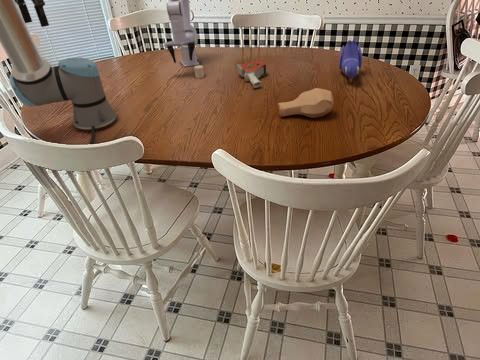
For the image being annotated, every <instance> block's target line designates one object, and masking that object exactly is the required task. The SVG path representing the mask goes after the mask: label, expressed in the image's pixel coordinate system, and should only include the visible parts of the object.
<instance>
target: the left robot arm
mask: <svg viewBox="0 0 480 360" xmlns="http://www.w3.org/2000/svg"><path fill="white" fill-rule="evenodd" d="M30 1H31V2H32V4H33V5H34V6H33V8H34V11H35V13H36V16H37V18H38V22H39V23H40V26H41V27H42V28H44V27H49V26H50V24H49V20H48V17H47V14H46V12H45V9H44V6H46V2H45V0H30ZM29 23H33V19H32V16H31V14H30V11H29V8H28V6H27V2H26V1H25V0H0V45H1V47H2V49H3V50H4V53H5V54H6V56H7V58H8V60H9V61H10V63H11V65H12V67H11V70H10V75H9V83H10V86H11V88H12V90H13V92H14V94H15V96H16V98H17V99H18V101H20V102H21V104H23V105H24V106H26V107H40V106H44V105H50V104H56V103H61V102H62V103H63V102H67V101H71V104H72V108H73V114H72V117H73V118H72V119H73V125H74V128H75V129H76V131H78V132H84V133H91V136H90V142H89V144H90V145H91V144H92V145H94V142H95V133H96V132H99V131H102V130H105V129H107V128H110V127H111V126H113V125H115V124H116V122H117V121H118V116H117V113H116V111H115V110H114V108H113V107H112V105H111V103H110V102H109V101H108V99H107V96H106V92H105V90H104V87H103V86H104V85H103V83H102V80H101V77H100V76H101V73H100V72H99V70H98V66H97V64H96V63H95V62H94V61H93V60H92V59H89V58H87V57H67V58H64V59H61V60H59V61H58V63H57V65H55V66H51V63H50V61H48V60H47V59H45V58H43V57H42V56H41V54H40V52H39V50H38V47H37V45H36V43H35V41H34V38H33V36H32V34H31V32H30V30H29V28H28V26H27V24H29Z"/></svg>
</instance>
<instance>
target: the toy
mask: <svg viewBox="0 0 480 360" xmlns="http://www.w3.org/2000/svg"><path fill="white" fill-rule="evenodd" d="M358 42H359V40H357V39H353V40H351V39H348V40H347V41H346V45H343V44H342V47H341V49H340V52H339V55H338V69H339V70H340V71H341V72H342V73H343V74H344V75H345V76H346V77H347V78H348V79H349V83H350V84H352V82H353V79H354V78H355V77H356V76H357V75H358V74H359V73H360V70H361V68H362V65H363V53H362V47H361V46H360V44H358Z"/></svg>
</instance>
